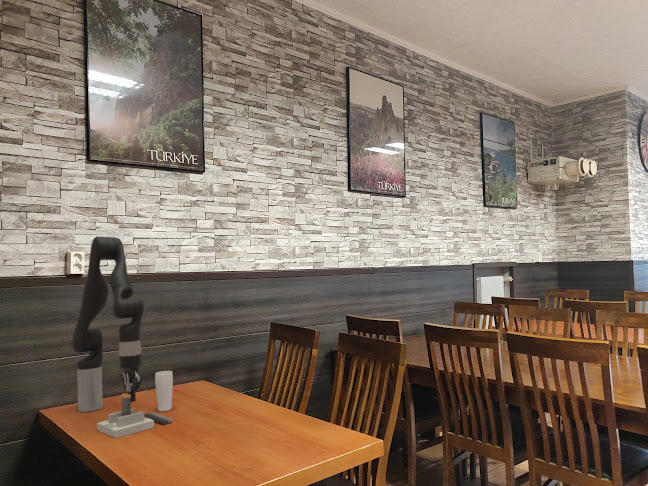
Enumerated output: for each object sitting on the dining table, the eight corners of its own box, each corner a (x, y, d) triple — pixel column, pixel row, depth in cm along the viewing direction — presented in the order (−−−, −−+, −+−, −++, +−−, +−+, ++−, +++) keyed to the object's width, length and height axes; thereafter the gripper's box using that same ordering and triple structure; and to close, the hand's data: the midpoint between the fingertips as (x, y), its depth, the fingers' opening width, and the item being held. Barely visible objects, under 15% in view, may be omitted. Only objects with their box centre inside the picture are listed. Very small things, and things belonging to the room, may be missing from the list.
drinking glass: (168, 412, 195) (167, 374, 196) (152, 412, 196) (151, 374, 197) (176, 407, 201) (175, 370, 202) (161, 407, 203) (160, 370, 204)
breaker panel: (97, 429, 176) (96, 414, 177) (134, 420, 186) (134, 405, 187) (115, 438, 166) (115, 421, 166) (154, 427, 176) (153, 411, 176)
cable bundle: (143, 418, 189) (143, 413, 189) (152, 415, 191) (152, 411, 191) (163, 425, 178) (163, 420, 178) (173, 422, 181) (172, 418, 181)
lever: (120, 418, 177) (120, 393, 178) (125, 417, 178) (125, 392, 179) (126, 421, 174) (126, 395, 174) (131, 419, 175) (131, 394, 176)
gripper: (112, 353, 181) (113, 401, 180) (128, 356, 172) (130, 406, 171) (131, 350, 186) (133, 396, 185) (148, 353, 177) (150, 401, 176)
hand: (131, 401), depth 178 cm, fingers closed
